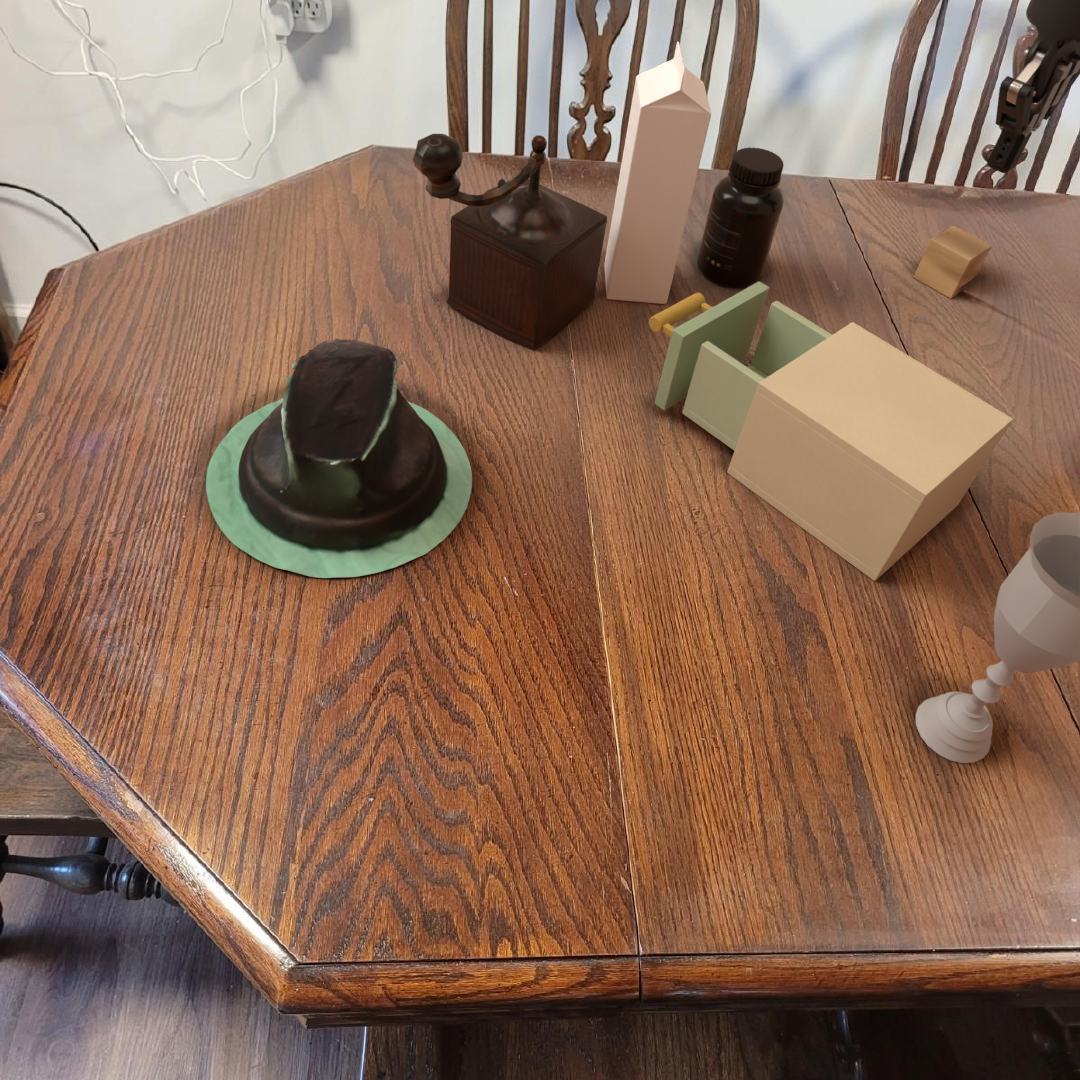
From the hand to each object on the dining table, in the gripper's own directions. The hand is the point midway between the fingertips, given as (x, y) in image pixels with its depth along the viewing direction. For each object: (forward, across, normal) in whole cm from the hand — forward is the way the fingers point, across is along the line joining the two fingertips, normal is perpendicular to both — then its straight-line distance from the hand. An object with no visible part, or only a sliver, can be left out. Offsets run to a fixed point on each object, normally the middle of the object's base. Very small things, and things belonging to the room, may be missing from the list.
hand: (999, 167), depth 90 cm
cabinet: (+13, -35, -10) cm, 39 cm away
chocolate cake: (+13, -66, +16) cm, 69 cm away
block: (+13, 0, 0) cm, 13 cm away
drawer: (+12, -35, +1) cm, 37 cm away
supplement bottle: (+13, -18, +16) cm, 27 cm away
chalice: (+13, -48, -28) cm, 57 cm away
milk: (+13, -28, +20) cm, 36 cm away
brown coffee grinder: (+13, -42, +24) cm, 49 cm away
